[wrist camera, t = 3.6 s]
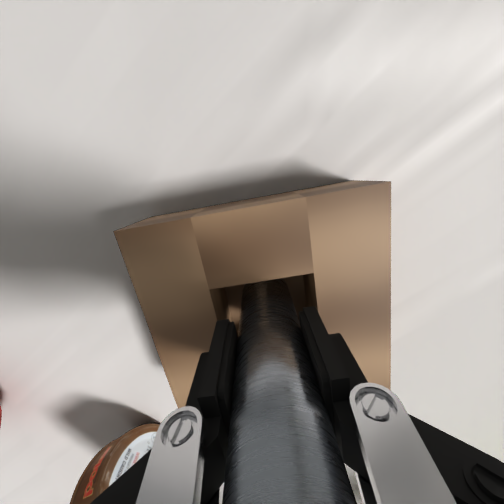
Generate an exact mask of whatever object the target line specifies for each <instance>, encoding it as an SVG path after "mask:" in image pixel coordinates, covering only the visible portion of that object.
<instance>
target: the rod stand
mask: <svg viewBox="0 0 504 504" xmlns="http://www.w3.org/2000/svg"><path fill="white" fill-rule="evenodd" d="M113 232H114V234H115V237H116V240H117V242H118V245H119V248H120V251H121V253H122V256H123V259H124V262H125V264H126V267H127V270H128V273H129V275H130V278H131V281H132V283H133V286H134V289H135V292H136V294H137V297H138V300H139V303H140V305H141V308H142V311H143V314H144V316H145V319H146V322H147V324H148V327H149V330H150V333H151V335H152V338H153V341H154V344H155V346H156V349H157V352H158V355H159V357H160V360H161V363H162V365H163V368H164V371H165V374H166V376H167V379H168V382H169V385H170V387H171V390H172V393H173V396H174V398H175V401H176V404H177V406H178V408H181V407H185V405H186V402H187V398H188V395H189V392H190V388H191V385H192V382H193V378H194V375H195V371H196V368H197V365H198V361H199V358H200V355H201V354H202V353H204V352H209V349H210V345H211V341H212V337H213V333H214V329H215V326H216V322H217V321H219V320H225V319H229V320H230V322H234V324H235V328H236V332H237V336H238V332H239V321H240V311H241V300H242V291H243V287H244V285H245V284H248V283H254V282H260V281H267V280H273V279H279V278H282V279H283V280H284V281H285V282H286V284H287V286H288V289H289V292H290V295H291V298H292V301H293V304H294V307H295V311H296V314H297V317H298V320H299V323H300V319H299V311H303V308H304V307H311V306H315V307H316V309H317V311H318V313H319V315H320V317H321V319H322V322H323V324H324V326H325V328H326V330H327V332H328V334H335V333H340V334H341V335H342V337H343V338H344V340H345V342H346V344H347V345H348V347H349V349H350V351H351V353H352V354H353V356H354V358H355V360H356V361H357V363H358V365H359V367H360V369H361V370H362V372H363V374H364V376H365V378H366V379H367V381H368V383H376V384H379V385H382V386H384V387H386V388H388V389H390V373H391V182H388V181H354V180H351V181H346V182H340V183H335V184H329V185H324V186H318V187H313V188H307V189H302V190H296V191H291V192H285V193H280V194H274V195H269V196H263V197H258V198H252V199H247V200H241V201H236V202H230V203H225V204H219V205H214V206H208V207H203V208H197V209H192V210H186V211H181V212H175V213H170V214H164V215H159V216H153V217H150V218H147V219H144V220H142V221H139V222H137V223H134V224H132V225H129V226H126V227H124V228H121V229H119V230H116V231H113Z"/></svg>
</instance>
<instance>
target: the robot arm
mask: <svg viewBox="0 0 504 504" xmlns="http://www.w3.org/2000/svg"><path fill="white" fill-rule="evenodd" d="M299 319H300V326H301V331H302V334H303V337H304V341H305V344H306V347H307V350H308V353H309V356H310V360H311V363H312V366H313V369H314V372H315V376H316V379H317V382H318V385H319V388H320V392H321V395H322V398H323V401H324V404H325V407H326V409H327V412H328V415H329V418H330V421H331V424H332V427H333V430H334V434H335V437H336V440H337V443H338V446H339V449H340V452H341V456H342V459H343V462H344V463H345V464H346V465H348V466H349V467H350V468H352V469H353V470H354V471H355V476H356V480H357V483H358V487H359V491H360V495H361V499H362V502H363V504H504V463H503V462H501V461H499V460H498V459H496V458H494V457H492V456H490V455H488V454H486V453H484V452H482V451H480V450H478V449H476V448H474V447H472V446H470V445H468V444H467V443H465V442H463V441H461V440H459V439H457V438H455V437H453V436H451V435H449V434H447V433H445V432H443V431H441V430H439V429H437V428H435V427H433V426H431V425H429V424H427V423H425V422H423V421H421V420H419V419H417V418H415V417H413V416H411V415H409V414H408V413H407V411H406V410H405V408H404V406H403V404H402V402H401V401H400V399H399V398H398V397H397V395H396V394H394V393H393V392H392V391H391V390H390V389H388V388H386V387H384V386H382V385H379V384H376V383H368V381H367V379H366V378H365V376H364V374H363V372H362V370H361V369H360V367H359V365H358V363H357V361H356V360H355V358H354V356H353V354H352V353H351V351H350V349H349V347H348V345H347V344H346V342H345V340H344V338H343V337H342V335H341V334H340V333H335V334H328V332H327V330H326V328H325V326H324V324H323V322H322V319H321V317H320V315H319V313H318V311H317V309H316V307H315V306H311V307H304V308H303V311H299ZM237 343H238V336H237V332H236V328H235V324H234V322H230V320H229V319H225V320H219V321H217V322H216V326H215V329H214V333H213V337H212V341H211V345H210V349H209V352H204V353H202V354H201V355H200V358H199V361H198V365H197V368H196V371H195V375H194V378H193V382H192V385H191V388H190V392H189V395H188V398H187V402H186V405H185V407H181V408H178V409H176V410H175V411H173V412H171V413H170V414H169V415H168V416H167V417H166V418H165V419H164V420H163V421H162V423H161V424H160V426H159V428H158V430H157V433H156V436H155V440H154V443H153V446H152V449H150V450H149V451H148V452H147V453H146V454H145V455H144V456H143V457H142V458H140V459H139V460H138V461H137V462H136V463H135V464H134V465H133V466H131V467H130V468H129V469H128V470H127V471H126V472H125V473H124V474H122V475H121V476H120V477H119V478H118V479H117V480H116V481H115V482H113V483H112V484H111V485H110V486H109V487H108V488H107V489H106V490H104V491H103V492H102V493H101V494H100V495H99V496H98V497H97V498H95V499H94V500H93V501H92V502H91V503H90V504H222V499H223V488H224V486H223V483H224V478H225V467H226V457H227V446H228V436H229V426H230V416H231V406H232V395H233V385H234V374H235V364H236V353H237Z"/></svg>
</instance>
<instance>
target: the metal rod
mask: <svg viewBox="0 0 504 504" xmlns="http://www.w3.org/2000/svg"><path fill="white" fill-rule="evenodd" d="M222 504H357V503H356V500H355V497H354V493H353V490H352V487H351V484H350V481H349V478H348V475H347V471H346V468H345V465H344V462H343V459H342V456H341V452H340V449H339V446H338V443H337V440H336V437H335V434H334V430H333V427H332V424H331V421H330V418H329V415H328V412H327V409H326V407H325V404H324V401H323V398H322V395H321V392H320V388H319V385H318V382H317V379H316V376H315V372H314V369H313V366H312V363H311V360H310V356H309V353H308V350H307V347H306V344H305V341H304V337H303V334H302V331H301V326H300V323H299V320H298V317H297V314H296V311H295V307H294V304H293V301H292V298H291V295H290V292H289V289H288V286H287V284H286V282H285V281H284V280H283V279H282V278H279V279H273V280H267V281H260V282H254V283H248V284H245V285H244V287H243V291H242V300H241V311H240V321H239V332H238V343H237V353H236V364H235V374H234V385H233V395H232V406H231V416H230V426H229V436H228V446H227V457H226V467H225V478H224V488H223V499H222Z"/></svg>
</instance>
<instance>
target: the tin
mask: <svg viewBox="0 0 504 504" xmlns="http://www.w3.org/2000/svg"><path fill="white" fill-rule="evenodd" d="M159 426H160V425H158V424H145V425H141V426H138V427H136V428H134V429H132V430H130V431H128V432H127V433H125V434H124V435H122V436H121V437H120V438H118V439H116V440H114V441H112V442H110V443H109V444H108V445H106V446H105V447H104V448H102V449H101V450H100V451H99V452H98V453H97V454H96V455H95V457H94V458H93V459H92V460H91V461H90V463H89V464H88V466H87V467H86V469H85V470H84V472H83V474H82V475H81V477H80V479H79V481H78V483H77V485H76V488H75V490H74V493H73V495H72V498H71V502H70V504H90V503H91V502H92V501H93V500H94V499H95V498H97V497H98V496H99V495H100V494H101V493H102V492H103V491H104V490H106V489H107V488H108V487H109V486H110V485H111V484H112V483H113V482H115V481H116V480H117V479H118V478H119V477H120V476H121V475H122V474H124V473H125V472H126V471H127V470H128V469H129V468H130V467H131V466H133V465H134V464H135V463H136V462H137V461H138V460H139V459H140V458H142V457H143V456H144V455H145V454H146V453H147V452H148V451H149V450H150V449H152V446H153V443H154V440H155V436H156V433H157V430H158V428H159ZM223 486H224V483H223Z"/></svg>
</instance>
